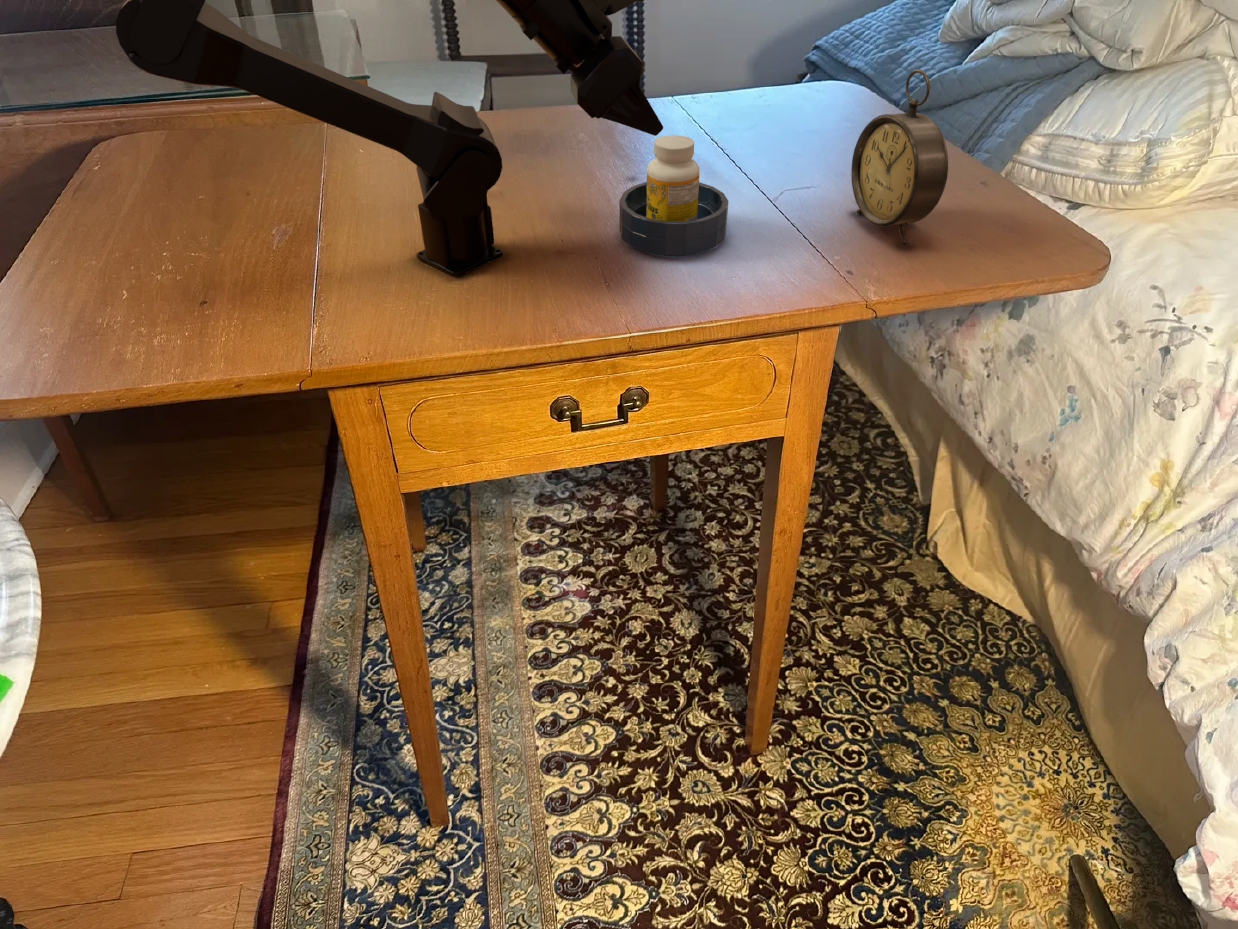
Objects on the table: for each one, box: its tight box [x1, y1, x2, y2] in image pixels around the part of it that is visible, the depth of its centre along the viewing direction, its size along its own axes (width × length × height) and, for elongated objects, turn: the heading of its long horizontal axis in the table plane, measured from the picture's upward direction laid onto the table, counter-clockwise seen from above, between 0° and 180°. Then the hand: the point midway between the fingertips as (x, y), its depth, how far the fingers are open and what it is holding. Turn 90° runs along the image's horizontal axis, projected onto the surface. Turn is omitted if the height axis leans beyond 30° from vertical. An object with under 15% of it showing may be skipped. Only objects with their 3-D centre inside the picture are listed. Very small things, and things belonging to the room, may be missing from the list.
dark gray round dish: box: [618, 181, 729, 258], centre depth 91 cm, size 11×11×4 cm
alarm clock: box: [850, 68, 949, 247], centre depth 88 cm, size 11×5×16 cm, turn 21°
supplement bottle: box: [646, 134, 700, 221], centre depth 89 cm, size 5×5×10 cm
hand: (647, 113), depth 84 cm, fingers open, 9 cm apart
